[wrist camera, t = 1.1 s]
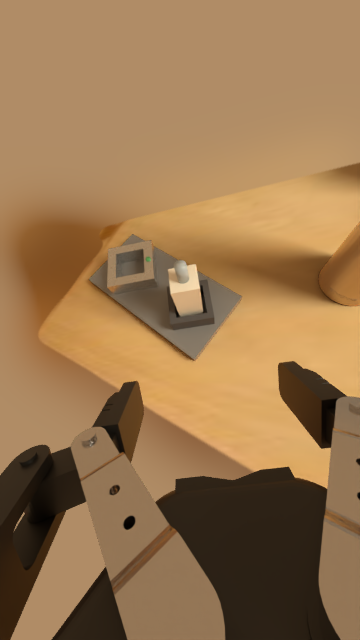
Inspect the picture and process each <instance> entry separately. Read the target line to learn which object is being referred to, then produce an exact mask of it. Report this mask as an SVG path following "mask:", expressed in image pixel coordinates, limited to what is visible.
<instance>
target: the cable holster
mask: <svg viewBox="0 0 360 640" xmlns="http://www.w3.org/2000/svg"><path fill="white" fill-rule="evenodd" d="M199 286H200V292H201V294H204V300H205V306H206V312H207V313H203V314H196V315H190V316H184V317H178V314H177V308H176V306H175V303H174V301H173V298H172V296H171V293H170V286H167V295H168V305H169V316H170V325H171V326H172V328H173V330H179V329H185V328H191V327H198V326H204V325H211V324H215V323H214V312H213V307H212V302H211V296H210V291H209V286H208V280H207V279H206V280H201V281H199Z"/></svg>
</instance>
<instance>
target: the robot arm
mask: <svg viewBox="0 0 360 640" xmlns="http://www.w3.org/2000/svg"><path fill="white" fill-rule="evenodd" d="M318 281H319V285H320V287H321V289H322V291H323V292H324V293H325V295H327V296H328V297H329V298H330V299H332V300H333V301H335V302H337V303H340V304H343V305H348V306H358V305H360V222H359V223H358V225H357V226H356V227H355V228H354V230H353V231H352V232H351V233H350V235H349V236H348V237H347V238H346V240H345V241H344V242H343V243H342V245H341V246H340V247H339V248H338V250H337V251H336V252H335V253H334V255H333V256H332V257H331V258H330V260H329V261H328V262H327V263H326V265H325V266H324V267H323V268H322V270H321V271H320V274H319V280H318ZM278 375H279V391H280V395H281V397H282V399H283V401H284V402H285V403H286V404H287V406H288V407H289V408H290V409H291V411H292V412H293V413H294V415H295V416H296V417H297V418H298V420H299V421H300V422H301V423H302V425H303V426H304V427H305V429H306V430H307V431H308V432H309V434H310V435H311V436H312V437H313V439H314V440H315V441H316V443H317V444H318V445H319V446H320V448H321V449H322V448H331V456H330V467H329V478H328V489H326V488H324V487H323V486H320V485H318V484H316V483H313V482H310V481H308V480H304V479H300V478H295V477H294V476H293V474H292V472H291V470H290V468H289V467H283V468H274V469H265V470H259V471H257V472H254V473H251V474H249V475H246V476H244V477H241V478H239V479H236V480H226V479H219V478H212V477H205V476H200V477H191V478H182V479H176V488H175V490H174V491H172V492H170V493H168V494H166V495H164V496H163V497H161V498H160V499H159V500H157V501H156V502H155V501H154V500H153V498H152V497H151V495H150V493H149V492H148V490H147V489H146V487H145V485H144V484H143V482H142V481H141V479H140V477H139V476H138V474H137V473H136V471H135V469H134V468H133V466H132V465H131V461H132V457H133V453H134V449H135V446H136V442H137V438H138V434H139V431H140V427H141V423H142V419H143V415H144V407H143V401H142V397H141V392H140V387H139V383H138V381H134V382H126V383H124V384H123V386H122V387H121V389H120V391H119V392H117V393H114V394H113V395H112V396H111V397H110V398H109V399H108V400H107V402H106V404H105V406H104V408H103V409H102V411H101V413H100V415H99V416H98V418H97V420H96V421H95V423H94V425H93V427H92V428H89V429H87V430H85V431H83V432H82V433H80V434H79V435H78V436H77V437H76V438H75V439H74V440H73V442H72V444H71V447H68V448H66V449H63V450H60V451H57V452H55V453H52V454H51V452H50V449H49V447H48V446H46V445H38V446H35V447H32V448H30V449H28V450H26V451H24V452H23V453H21V454H20V455H19V456H17V457H16V458H15V459H14V460H13V461H12V462H11V463H10V464H9V466H8V467H7V468H6V469H5V470H4V472H3V473H2V474H1V475H0V640H10V639H11V637H12V634H13V632H14V630H15V627H16V625H17V623H18V620H19V618H20V616H21V614H22V611H23V609H24V607H25V604H26V602H27V600H28V597H29V595H30V593H31V590H32V588H33V586H34V583H35V581H36V579H37V577H38V574H39V572H40V570H41V567H42V565H43V563H44V560H45V558H46V556H47V554H48V551H49V549H50V546H51V544H52V542H53V540H54V537H55V535H56V533H57V530H58V528H59V526H60V524H61V521H62V519H63V517H64V514H65V512H66V510H68V509H70V508H72V507H75V506H77V505H79V504H82V503H84V502H86V501H87V504H88V508H89V511H90V514H91V518H92V521H93V525H94V528H95V531H96V535H97V538H98V542H99V545H100V548H101V551H102V555H103V558H104V561H105V565H106V567H105V568H104V570H103V571H102V572H101V574H100V575H99V576H98V578H97V579H96V580H95V582H94V583H93V584H92V586H91V587H90V588H89V590H88V591H87V593H86V594H85V595H84V597H83V598H82V599H81V601H80V602H79V603H78V605H77V606H76V607H75V609H74V610H73V612H72V613H71V614H70V616H69V617H68V618H67V620H66V621H65V622H64V624H63V625H62V626H61V628H60V629H59V630H58V632H57V633H56V635H55V636H54V637H53V639H52V640H360V398H358V397H347V396H346V395H345V394H343V393H342V392H341V391H339V390H338V389H337V388H335V387H334V386H333V385H332V384H329V382H328V381H326V380H325V379H323V378H322V377H321V376H320V375H318V374H317V373H315V372H313V371H311V370H308V369H303V368H302V367H301V366H299V365H298V364H297V363H296V362H294V361H291V362H283V363H279V365H278ZM23 512H24V513H25V515H24V516H23V518H22V520H21V521H20V523H19V524H18V526H17V528H16V529H15V526H16V524H17V522H18V520H19V519H20V517H21V515H22V514H23ZM14 529H15V531H14ZM13 532H14V533H13Z"/></svg>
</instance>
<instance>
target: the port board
mask: <svg viewBox="0 0 360 640" xmlns="http://www.w3.org/2000/svg"><path fill="white" fill-rule="evenodd" d="M140 242H145V241H144V240H142V239H140V238H139V237H137V236H135V235H133V234H132V235H131V236H130V237H129V238H128V239H127V240H126V241H125V242H124V243H123V245H122V246H125V245H130V244H135V243H140ZM154 248H155V253H156V265H157V278H158V287H155V288H149V289H144V290H138V291H133V292H127V293H122V294H116V295H114V294H113V293H112V292H111V291H110V290H109V289H108V288H107V274H108V260H107V261H106V262H105V263H104V264H103V265H102V266H101V267H100V268H99V269H98V270H97V271H96V272H95V273H94V274H93V275H92V276H91V278H90V279H89V280H90V281H91V282H92V283H93V284H94V285H96V286H97V287H98V288H100V289H101V290H102V291H103V292H105V293H106V294H107V295H109V296H110V297H111V298H113V299H114V300H115V301H117V302H118V303H119V304H121V305H122V306H123V307H125V308H126V309H127V310H128V311H130V312H131V313H132V314H134V315H135V316H136V317H138V318H139V319H140V320H142V321H143V322H144V323H146V324H147V325H148V326H150V327H151V328H152V329H154V330H155V331H156V332H157V333H159V334H160V335H161V336H163V337H164V338H165V339H167V340H168V341H169V342H171V343H172V344H173V345H175V346H176V347H177V348H179V349H180V350H181V351H182V352H184V353H185V354H186V355H188V356H189V357H190V358H192V359H193V360H194V361H195V360H196V359H197V358H198V356H199V355H200V354H201V352H202V351H203V350H204V349H205V347H206V346H207V345H208V343H209V342H210V341H211V339H212V338H213V337H214V335H215V334H216V333H217V331H218V330H219V329H220V327H221V326H222V325H223V323H224V322H225V321H226V319H227V318H228V317H229V315H230V314H231V313H232V311H233V310H234V309H235V307H236V306H237V305H238V303H239V302H240V301H241V298H242V296H240V295H238V294H237V293H235V292H233V291H231V290H230V289H228V288H226V287H224V286H223V285H221V284H219V283H217V282H216V281H214V280H212V279H210V278H209V277H207V276H205V275H203V274H202V273H200V272H198V271H197V274H198V280H199V281H201V280H206V279H207V280H208V286H209V291H210V296H211V302H212V307H213V312H214V323H215V324H211V325H204V326H198V327H191V328H185V329H179V330H173V328H172V326H171V325H170V316H169V305H168V295H167V286H170V284H169V274H168V269H172V268H174V263H175V262H176V261H178V260H177V259H175V258H174V257H172V256H170V255H168V254H167V253H165V252H163V251H161V250H160V249H158V248H156V247H154ZM187 266H188V265H187ZM144 272H145V270H144V259H142V260H137V261H132V262H126V263H122V277H123V276H128V275H134V274H139V273H144ZM201 299H202V307H203V313H207V312H206V306H205V300H204V294H201ZM177 314H178V317H180V315H179V313H178V311H177Z"/></svg>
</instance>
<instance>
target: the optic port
mask: <svg viewBox="0 0 360 640" xmlns="http://www.w3.org/2000/svg"><path fill="white" fill-rule="evenodd" d="M142 259H144V270H145V272H144V273H139V274H134V275H128V276H123V277H122V263H126V262H132V261H137V260H142ZM155 287H158V278H157V265H156V253H155V248H154V246H153V243H152V241H151V240H149V241H145V242H140V243H135V244H130V245H125V246H120V247H115V248H110V249H108V274H107V288H108V289H109V290H110V291H111V292H112V293H113V294H114V295H116V294H122V293H127V292H133V291H138V290H144V289H149V288H155Z"/></svg>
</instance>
